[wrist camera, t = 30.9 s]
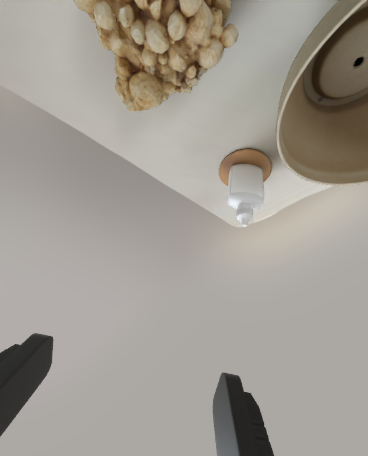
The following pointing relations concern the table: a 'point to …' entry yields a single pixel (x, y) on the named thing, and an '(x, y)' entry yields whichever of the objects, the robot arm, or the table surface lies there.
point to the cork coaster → (244, 162)
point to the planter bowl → (328, 101)
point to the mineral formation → (160, 44)
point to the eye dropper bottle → (245, 190)
